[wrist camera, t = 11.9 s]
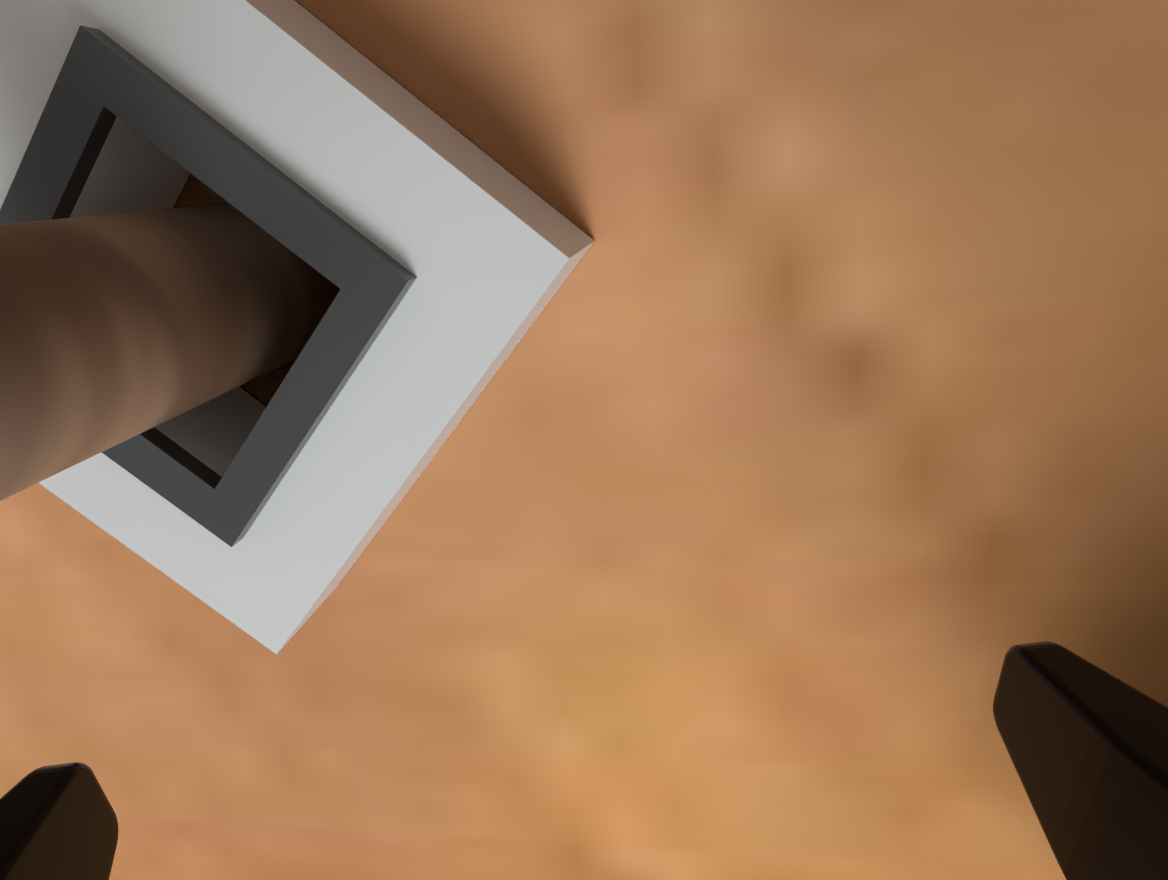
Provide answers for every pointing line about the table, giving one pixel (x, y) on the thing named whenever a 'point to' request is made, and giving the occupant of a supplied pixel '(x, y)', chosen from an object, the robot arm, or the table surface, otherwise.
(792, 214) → the table surface
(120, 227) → the walnut peg
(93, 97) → the socket block
